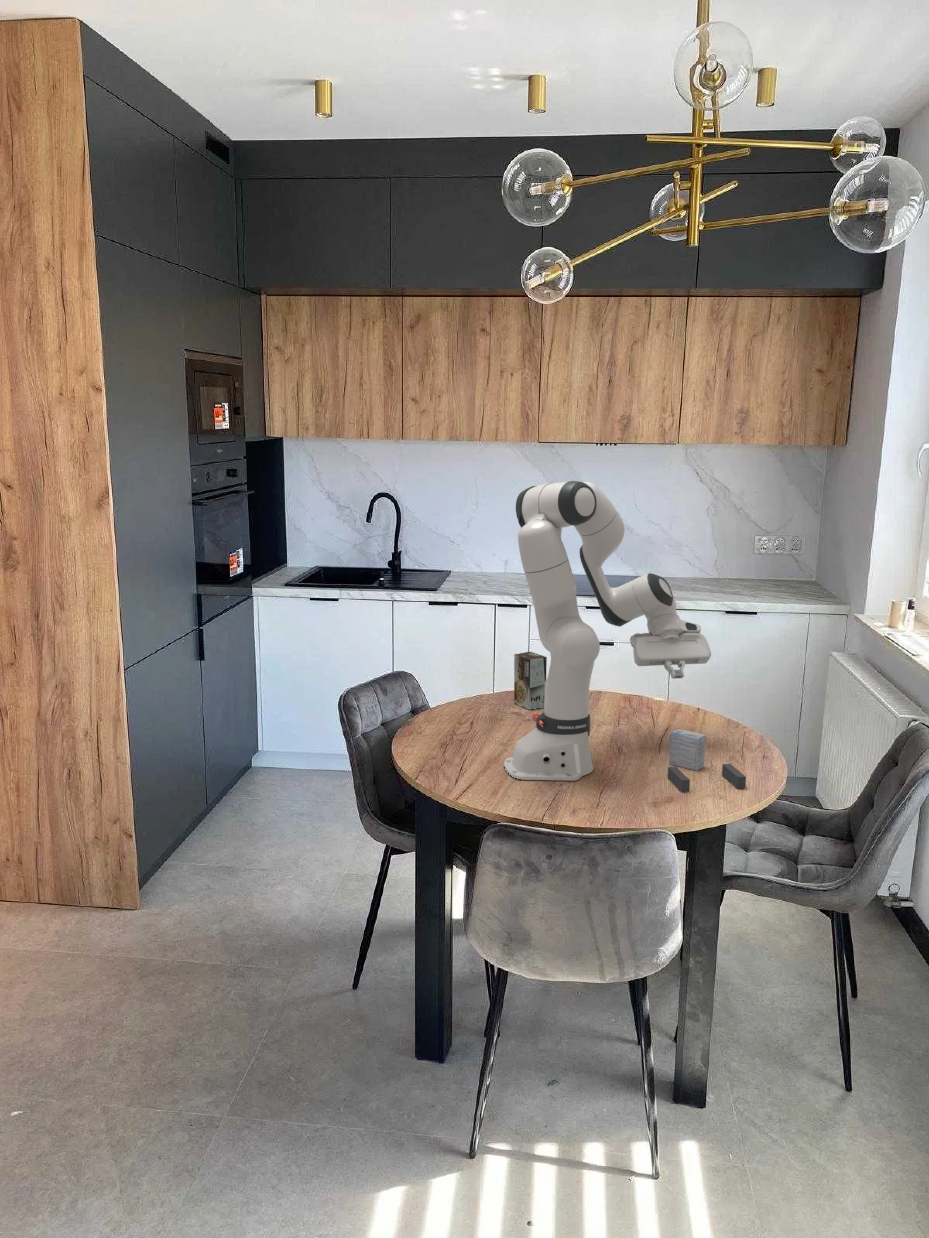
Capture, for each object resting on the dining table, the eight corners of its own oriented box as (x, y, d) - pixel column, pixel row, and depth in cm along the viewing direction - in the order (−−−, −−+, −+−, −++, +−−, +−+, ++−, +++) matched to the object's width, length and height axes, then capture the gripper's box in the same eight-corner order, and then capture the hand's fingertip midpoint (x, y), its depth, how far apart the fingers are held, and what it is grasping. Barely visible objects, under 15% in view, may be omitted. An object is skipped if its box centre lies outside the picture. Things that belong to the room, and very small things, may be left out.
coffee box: (546, 707, 289) (547, 656, 286) (529, 710, 286) (530, 659, 283) (530, 700, 297) (530, 650, 293) (513, 703, 293) (513, 653, 290)
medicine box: (704, 767, 238) (706, 734, 236) (696, 771, 235) (697, 738, 233) (676, 759, 243) (678, 728, 242) (668, 764, 240) (669, 732, 238)
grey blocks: (681, 792, 221) (681, 780, 221) (667, 778, 230) (668, 766, 230) (745, 788, 224) (746, 776, 223) (729, 775, 232) (730, 763, 232)
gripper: (631, 627, 246) (642, 672, 239) (705, 624, 249) (718, 669, 242) (625, 640, 252) (636, 685, 244) (698, 637, 255) (711, 681, 247)
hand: (678, 677), depth 243 cm, fingers closed
